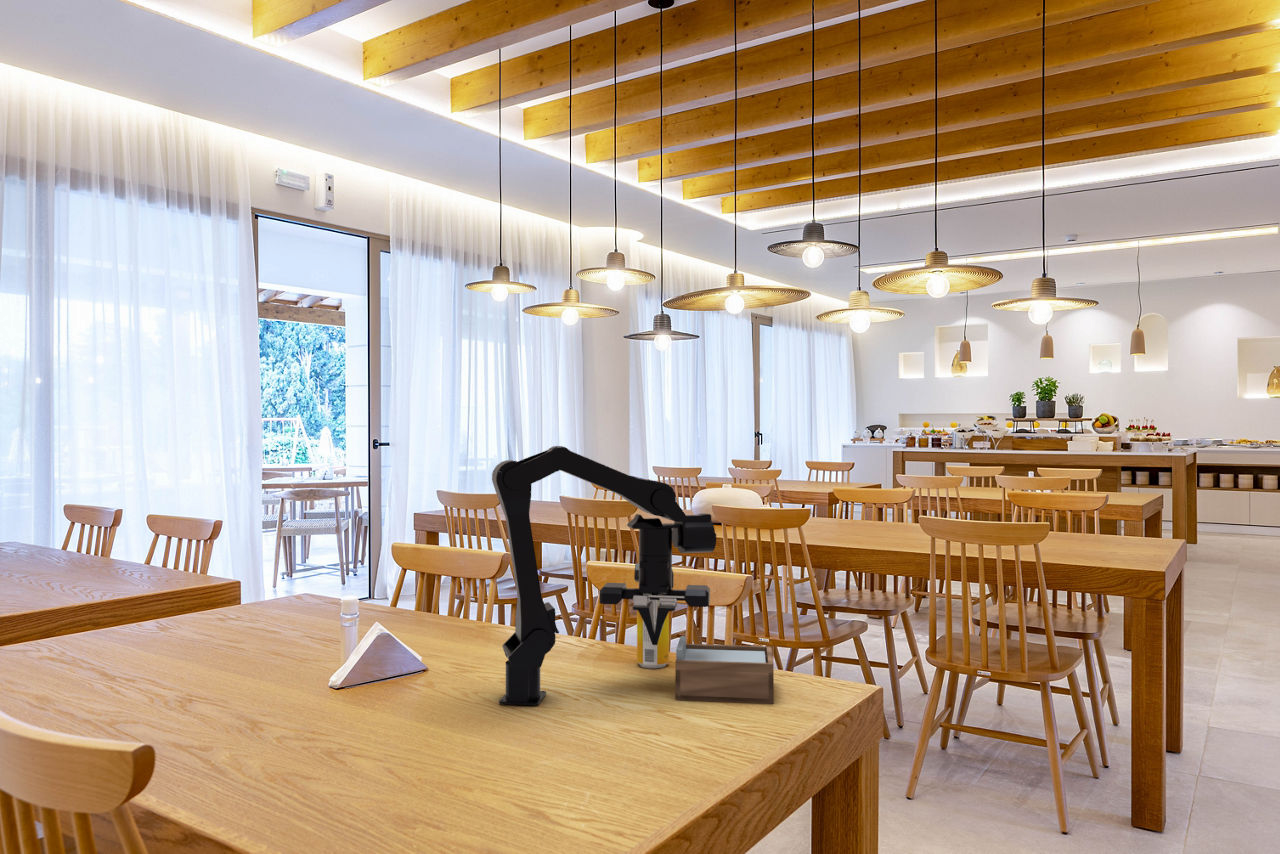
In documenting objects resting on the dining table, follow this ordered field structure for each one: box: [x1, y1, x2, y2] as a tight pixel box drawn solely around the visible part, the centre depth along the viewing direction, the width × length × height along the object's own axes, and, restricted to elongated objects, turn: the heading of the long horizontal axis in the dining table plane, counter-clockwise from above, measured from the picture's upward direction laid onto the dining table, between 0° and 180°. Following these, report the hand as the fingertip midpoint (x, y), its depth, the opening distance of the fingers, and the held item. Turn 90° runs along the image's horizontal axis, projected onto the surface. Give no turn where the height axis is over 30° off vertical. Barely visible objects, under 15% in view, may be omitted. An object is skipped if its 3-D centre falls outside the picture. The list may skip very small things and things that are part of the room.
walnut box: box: [674, 643, 775, 705], centre depth 144 cm, size 12×16×6 cm
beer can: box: [636, 594, 670, 670], centre depth 161 cm, size 6×6×15 cm
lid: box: [675, 635, 766, 663], centre depth 145 cm, size 10×15×3 cm, turn 83°
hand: (655, 644), depth 146 cm, fingers closed
